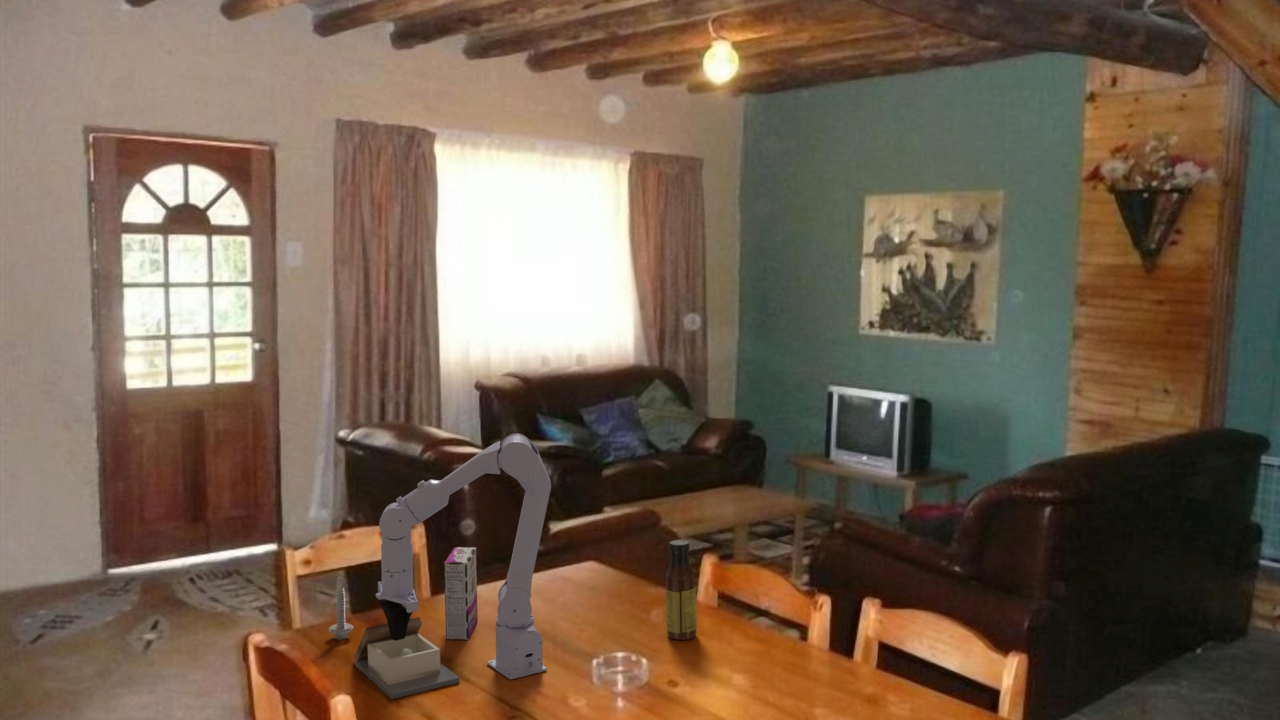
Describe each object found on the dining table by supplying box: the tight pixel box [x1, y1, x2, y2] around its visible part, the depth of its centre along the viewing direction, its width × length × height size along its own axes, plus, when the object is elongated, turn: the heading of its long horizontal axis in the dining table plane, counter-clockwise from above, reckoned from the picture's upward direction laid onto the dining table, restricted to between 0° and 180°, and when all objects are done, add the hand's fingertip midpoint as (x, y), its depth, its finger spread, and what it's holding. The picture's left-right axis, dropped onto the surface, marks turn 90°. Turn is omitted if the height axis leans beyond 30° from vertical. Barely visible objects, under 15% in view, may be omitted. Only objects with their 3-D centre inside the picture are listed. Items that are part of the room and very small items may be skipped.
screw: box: [328, 575, 354, 641], centre depth 214 cm, size 13×5×5 cm
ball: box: [397, 648, 413, 657], centre depth 196 cm, size 3×3×3 cm
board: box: [354, 659, 461, 700], centre depth 196 cm, size 18×13×1 cm
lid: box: [354, 616, 423, 661], centre depth 202 cm, size 10×10×2 cm
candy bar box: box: [443, 546, 479, 641], centre depth 218 cm, size 11×5×16 cm, turn 179°
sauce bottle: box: [665, 539, 698, 641], centre depth 216 cm, size 6×6×20 cm
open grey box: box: [368, 632, 441, 685], centre depth 195 cm, size 10×10×4 cm
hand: (398, 638), depth 197 cm, fingers closed
